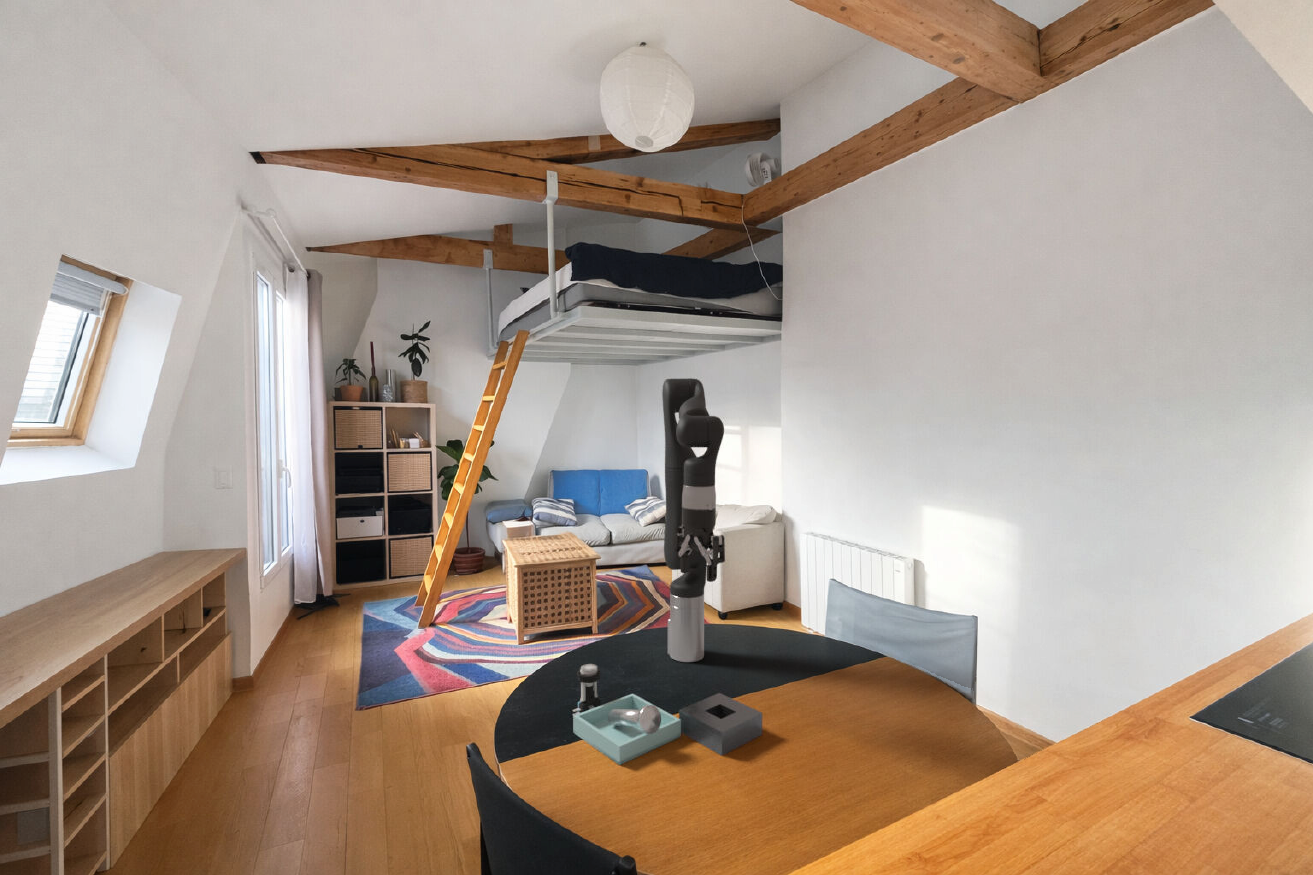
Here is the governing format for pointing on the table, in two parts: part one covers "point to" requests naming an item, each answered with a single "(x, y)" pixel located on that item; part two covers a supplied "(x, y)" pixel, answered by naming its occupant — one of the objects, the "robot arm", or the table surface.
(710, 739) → the hitch block
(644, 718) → the steel pin
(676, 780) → the table surface
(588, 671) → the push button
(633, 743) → the tray
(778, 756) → the table surface
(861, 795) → the table surface
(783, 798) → the table surface
